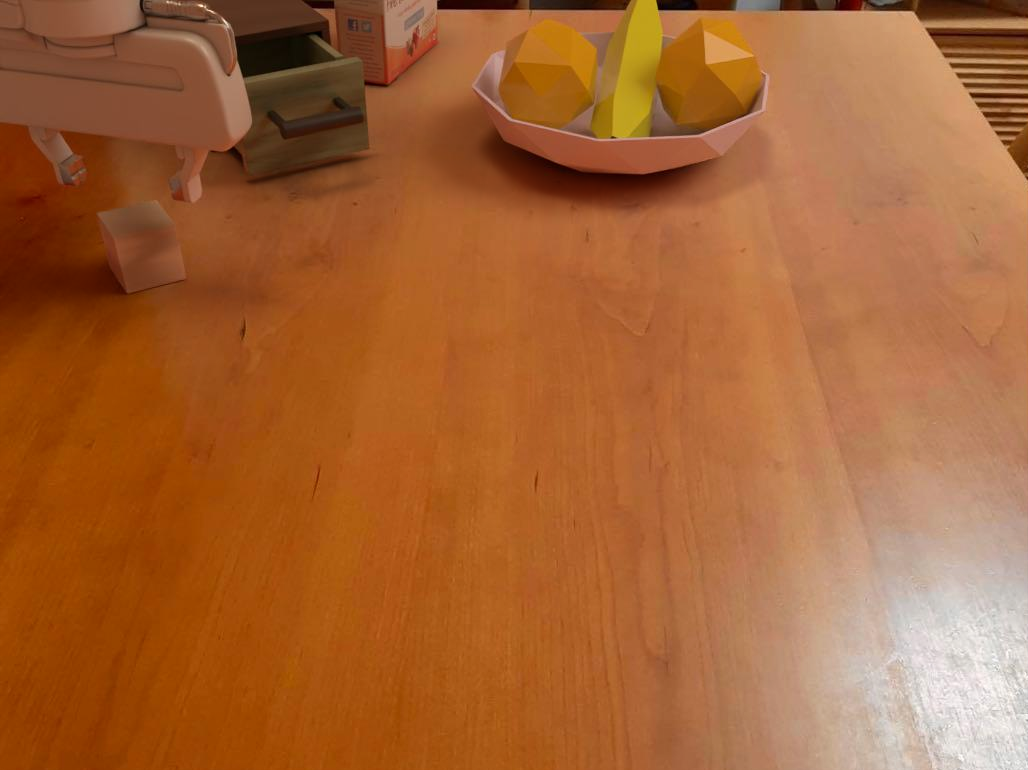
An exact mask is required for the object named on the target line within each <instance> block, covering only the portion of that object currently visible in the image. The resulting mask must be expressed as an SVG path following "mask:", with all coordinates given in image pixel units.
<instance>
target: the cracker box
mask: <svg viewBox="0 0 1028 770" xmlns="http://www.w3.org/2000/svg"><path fill="white" fill-rule="evenodd" d="M333 6H334V15H335V16H334V19H335V29H336V30H335V31H336V41H337V51H338V52H339V53H340V54H342V55H343V59H346V58H352V57H358V58H359V59H361V60H362V63H363V75H364V83H370V84H376V85H377V84H378V85H385V86H389V85H390V84H391V83H393V82H394V81H395V80H396V79H397V78H398V77H399V76H400V75H401V74H403V73H404V72H406V70H407V69H408V68H410V67H411V66H413V65H414V63H415V62H417V61H418V60H419V59H420V58H421V57H423V56H424V55H425V54H426V53H427V52H428V51H429V50H431V49H432V48H433V47H435V45H437V44H438V42H439V31H438V0H333Z"/></svg>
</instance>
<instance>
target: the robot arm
mask: <svg viewBox="0 0 1028 770" xmlns="http://www.w3.org/2000/svg"><path fill="white" fill-rule="evenodd" d="M210 17H212V18H214V19H216V20H209V19H210ZM0 123H4V124H11V125H18V126H26V127H27V130H28V133H29V136H30V139H31V140H32V142H33V143H34V144H35V146H36V148H38V149H39V150H40V152H41V153H42V155H44V157H45V158H46V159H47V161H48V162H50V164H52V167H53V171H54V174H55V177H56V181H57V183H58V185H61V186H62V185H63V186H69V187H70V186H71V187H80V186H81V184H84V183H85V182H86V181H88V177H89V175H88V170H87V169H86V167H85V166H86V162H85V159H84V156H83V155H79V154H74V152H73V151H72V149H71V148H70V146H69V145H68V143H67V142H66V141H65V139H64V137H63V136H62V134H61V132H71V133H77V134H79V133H80V134H86V135H93V136H100V137H109V138H115V139H116V138H117V139H124V140H131V141H137V142H138V141H139V142H146V143H147V142H148V143H154V144H160V145H169V146H174V149H175V154H176V158H177V159H179V160H184V162H183V165H182V167H181V168H182V169H180V170H178V171H177V172H175V173H176V174H174V175H172V176H170V177H169V178H168V184H169V188H170V190H171V191H172V192H171V198H172V199H173V201H175V202H181V203H188V204H195V203H196V202H198V200H200V198H202V194H203V187H202V182H201V181H202V180H201V176H200V173H201V171H202V169H203V166H204V164H205V161H206V160H207V157H208V155H209V152H210V151H211V150H213V152H227V151H229V150H230V149H232V148H234V147H233V146H234V145H235V144H237V143H238V142H239V141H240V140H241V139H242V138H243V137H244V136H245V135H246V133H247V132H248V130H249V129H250V127H251V124H252V115H251V110H250V105H249V100H248V96H247V92H246V88H245V85H244V81H243V77H242V74H241V71H240V67H239V64H238V61H237V51H236V45H235V38H234V33H233V30H232V27H231V25H230V24H229V23H228V22H226V20H225V19H224V18H223V17H222V16H221V15H220V14H218V13H217V12H215V11H213V10H211V8H210V6H209V5H208V4H206V3H203V2H199V1H188V2H184V1H177V0H0Z"/></svg>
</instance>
